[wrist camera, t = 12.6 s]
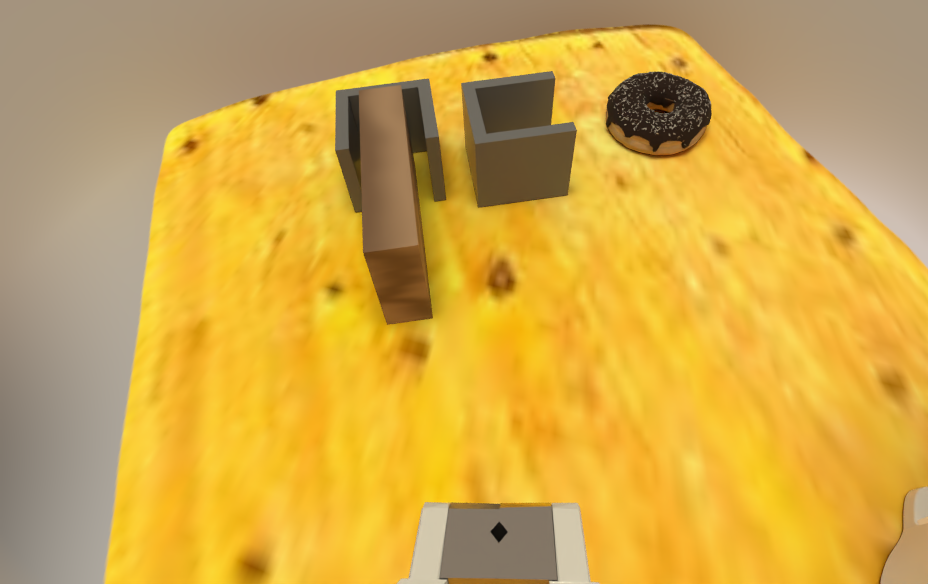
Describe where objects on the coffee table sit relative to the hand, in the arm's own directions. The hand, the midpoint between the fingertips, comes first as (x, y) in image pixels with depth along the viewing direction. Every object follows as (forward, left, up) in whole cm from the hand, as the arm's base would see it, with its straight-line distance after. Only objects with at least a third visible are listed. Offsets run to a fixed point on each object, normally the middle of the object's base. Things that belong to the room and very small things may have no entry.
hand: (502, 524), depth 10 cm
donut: (-25, -44, -28) cm, 58 cm away
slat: (+4, -33, -28) cm, 44 cm away
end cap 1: (+4, -41, -28) cm, 50 cm away
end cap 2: (-9, -40, -28) cm, 50 cm away
